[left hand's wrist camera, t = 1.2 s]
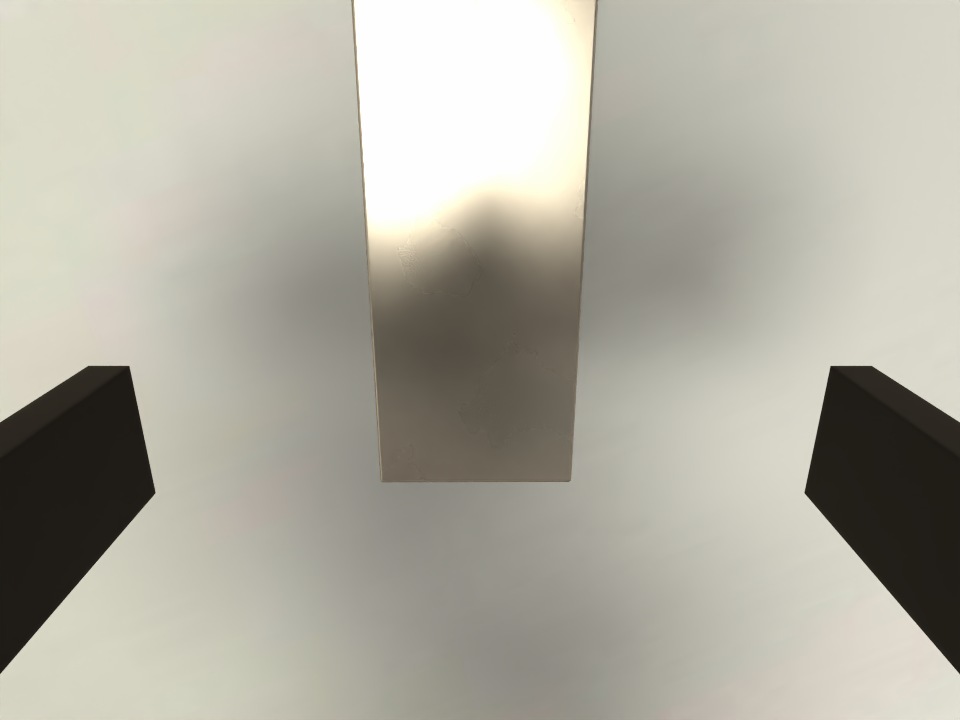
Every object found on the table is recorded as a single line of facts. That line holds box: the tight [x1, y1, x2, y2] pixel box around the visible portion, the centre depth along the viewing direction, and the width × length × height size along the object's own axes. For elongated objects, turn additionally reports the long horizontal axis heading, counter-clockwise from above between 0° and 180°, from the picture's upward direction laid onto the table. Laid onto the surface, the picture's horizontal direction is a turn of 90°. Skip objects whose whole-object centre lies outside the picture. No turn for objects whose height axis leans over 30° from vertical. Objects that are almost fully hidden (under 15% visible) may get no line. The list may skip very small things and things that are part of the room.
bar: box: [351, 0, 598, 482], centre depth 17 cm, size 22×5×9 cm, turn 0°
